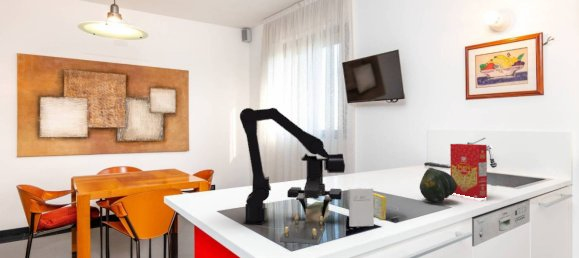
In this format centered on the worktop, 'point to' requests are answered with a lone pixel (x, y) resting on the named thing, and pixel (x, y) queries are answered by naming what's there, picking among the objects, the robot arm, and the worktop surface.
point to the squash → (437, 185)
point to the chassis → (304, 231)
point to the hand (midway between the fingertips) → (314, 217)
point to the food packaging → (469, 169)
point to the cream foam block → (316, 212)
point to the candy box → (379, 206)
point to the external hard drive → (361, 207)
